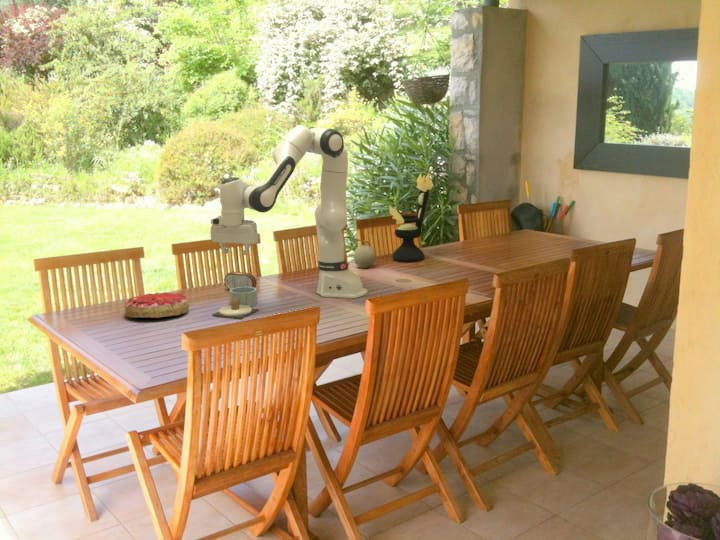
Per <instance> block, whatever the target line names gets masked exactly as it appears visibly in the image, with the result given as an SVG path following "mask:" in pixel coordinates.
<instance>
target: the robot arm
mask: <svg viewBox="0 0 720 540" xmlns="http://www.w3.org/2000/svg"><path fill="white" fill-rule="evenodd" d="M344 141H345V140H344V138H343V135H342V133H340V131H338V130H336V129H334V128H328V127H307V126H305V125H304V124H303V125H302V124H297V125H295V127H293V128H292V129H290V130H289V131H288V132H287V133H286V134H285V135H284V137H282V138H281V140H279V142H278V143H277V144H276V146H275V147H274V150H273V151H272V157H273V161H274V163H275V164H276V168H275V170H274V171H273V172H272V173H271V175H270V176H269V178H268V179H267V180H266V182H265V183H263V184H261V185H258V184H252V183H250V182H246V181H244V180H242V179H241V178H239V177H238V176H237V177H235V176H234V177H229V178H225V179H224V180H222V182H221V183H220V186H219V199H220V205H221V210H220V212H221V213H220V215H219V216H216V217H214V218H212V219H210V224H211V226H210V240H211V241H212V243H218V244H219V247H220V248H221V249H222V254H226V255H227V254H228V253H229V248H227V247H226V244H243V245H244V249H242V254H243V256H247V255H249V250H250V248H251V247H252V246H251V245H255V244H257V243H258V242H259V234H258V233H259V232H258V228H257V223H256V222H255V221H254V220H253V219H251V220H250V219H245V209H250V210H253V211H257V212H258V213H267V212H269V211H271V210H272V209H273V208H274V207H275V204H276V202H277V198H278V197H279V194H280V192H281V190H283V187H284V186H285V185H286V183H287V182H288V181H289V179H290V177H292V174H293V173H294V171H295V168H296V167H297V165H298V164H299V162H300V161H301V160H302V158H304V156H305V155H306V153H313V154H316V155H320V156H321V158H322V166H321V175H320V185H319V186H320V187H319V189H320V200H321V201H320V203H319V205H317V207H316V208H315V212H314V216H315V217H314V218H315V227H316V235H317V240H318V242H317V243H318V262H317V265H318V269H317V271H318V283H317V288H316V294H318V295H320V297H323V298H324V297H325V298H346V299H348V298H349V299H356V298H360V297H363V296H365V295H367V294H368V292H369V291H368V289H367V288H364V287H363V282H362V280H361V278H360V277H359V276H358V275H357V274H356V273H355V272H354V271H352V270H350V269H349V265H350V263H351V262H350V261H349V262H347V261H346V259H345V242H344V238H343V236H344V235H343V231H342V230H343V229H344V228H345V227H346V225H347V223H348V216H347V214H348V213H347V212H348V211H347V183H348V172H349V161H348V160H349V157H348V150H347V149H346V148H345V146H344V144H345V142H344Z"/></svg>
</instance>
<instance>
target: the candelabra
mask: <svg viewBox="0 0 720 540" xmlns="http://www.w3.org/2000/svg"><path fill="white" fill-rule="evenodd" d="M416 184H417V185H416V186H415V188H416V189H417V190H419V195H418V198H417V203H418V204H417V211H416V215H414V214H400V212H398V210H397V208H395V207H392V205H390V204H388V206H389V207H388V208H389V209H388V210H389V214H390V215H392V217H391V219H392V220H395V221H396V223H395V224H396V225H400V226H399V227H397V228H396V229H395V230H394V235H395V236H396V238H398V239H402V243H401V245H400V246H398V247H397V248H396V249H395V250H394V252H393V253H392V256H391V258H392V259H393V260H394V261H396V262H402V263H412V262H413V263H414V262H420V261H422V260H424V259H425V255H424V252H423V251H422V250H421V248H419V247H418V246H417V245H416V244H415V241H414V240H415V239H418V238H420V237H421V236H422V234H423V233H422V227H423V222H424V219H425V218H424V217H425V215H426V214H425V213H426V210H427V206H428V203H429V202H428V201H429V198H430V197H429V196H430V190H433V189H432V188H434V184H433V180H432V177H431V176H430V172H428V173H427V175H425V174H423V175H422V174H421V173H419V174H418V177H417V179H416ZM414 223H415V225H414Z"/></svg>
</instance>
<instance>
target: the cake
mask: <svg viewBox="0 0 720 540" xmlns="http://www.w3.org/2000/svg"><path fill="white" fill-rule="evenodd" d="M189 309H190V302H189V299H188V298H187V296H186V295H185V294H182V293H179V292H162V293H160V292H156V293H146V294H143V295H137V296H132V297H130V299H128V301H126V302H125V306H124V310H125V311H124V312H125V316H126V317H128V318H130V319H133V320H137V319H138V318H144V319H145V318H147V319H150V318H151V319H160V318H164V317H165V318H167V317H169V318H170V317H172V318H174V317H176V316H180V315H183V314H186V313H188V312H189Z"/></svg>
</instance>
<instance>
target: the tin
mask: <svg viewBox="0 0 720 540" xmlns="http://www.w3.org/2000/svg"><path fill="white" fill-rule="evenodd" d="M223 281H224V286H225V287H226V288H227V289H228V290H229V291H230V290H231V289H233V288H237V287H254V288H256V287H257V279H256V277H255V276H254V275H253V274H252V273H251V272H244V271H243V272H242V271H230V272H229V273H227V274H225V276H224V277H223Z"/></svg>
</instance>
